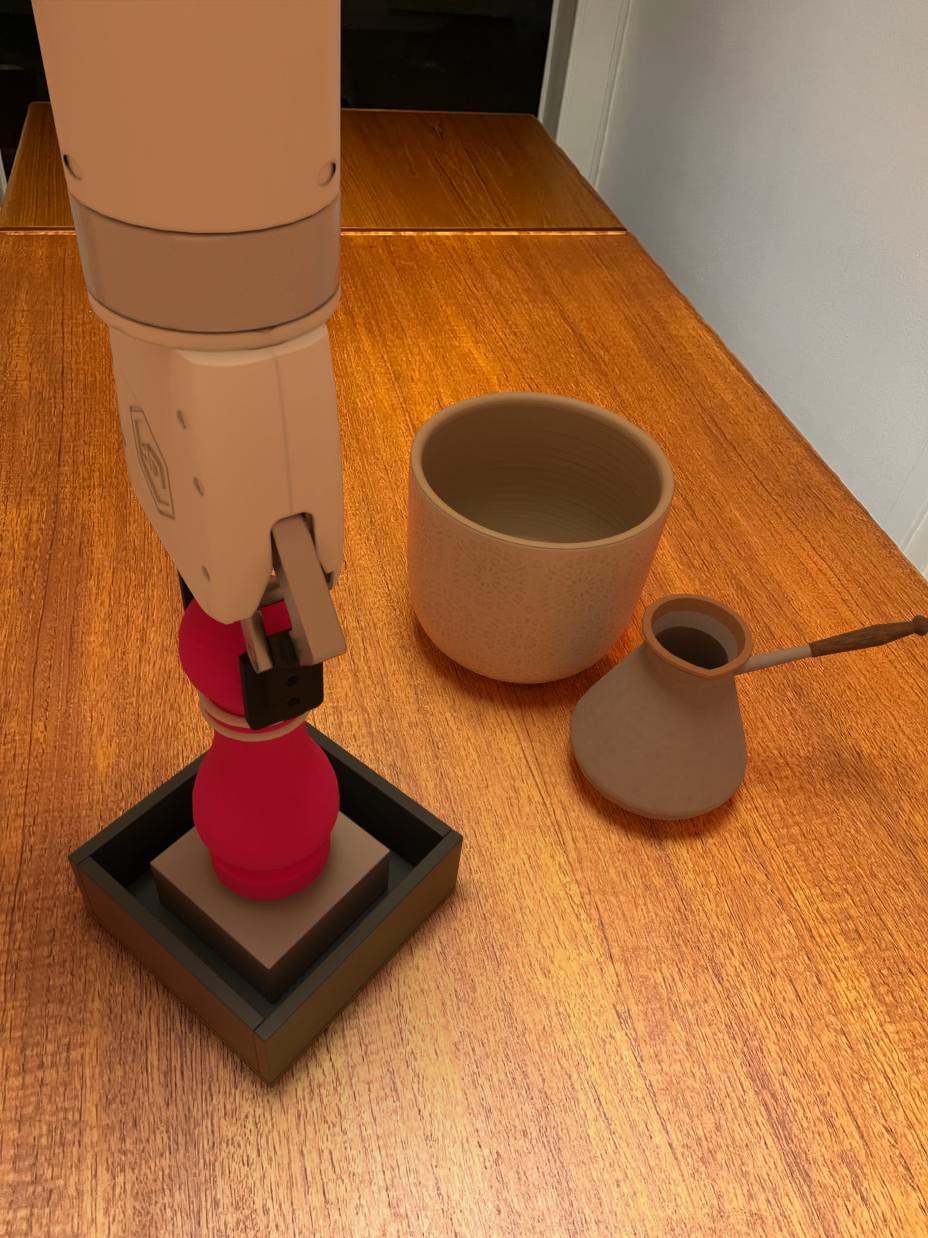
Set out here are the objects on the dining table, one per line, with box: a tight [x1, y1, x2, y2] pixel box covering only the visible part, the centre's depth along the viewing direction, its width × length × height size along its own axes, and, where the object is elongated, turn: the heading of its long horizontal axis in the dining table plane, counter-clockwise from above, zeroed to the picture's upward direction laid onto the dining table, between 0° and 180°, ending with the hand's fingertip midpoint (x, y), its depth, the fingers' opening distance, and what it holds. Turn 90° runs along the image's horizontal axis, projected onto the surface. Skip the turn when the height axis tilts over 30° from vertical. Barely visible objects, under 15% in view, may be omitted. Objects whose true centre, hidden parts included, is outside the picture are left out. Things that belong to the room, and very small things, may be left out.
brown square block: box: [150, 811, 390, 1004], centre depth 53 cm, size 9×9×4 cm
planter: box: [406, 391, 676, 684], centre depth 67 cm, size 17×17×15 cm
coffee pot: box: [569, 592, 928, 822], centre depth 60 cm, size 21×12×15 cm, turn 92°
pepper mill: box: [177, 574, 339, 900], centre depth 45 cm, size 7×7×20 cm
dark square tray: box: [67, 720, 464, 1089], centre depth 53 cm, size 15×15×6 cm
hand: (251, 656), depth 41 cm, fingers closed on pepper mill, 6 cm apart
